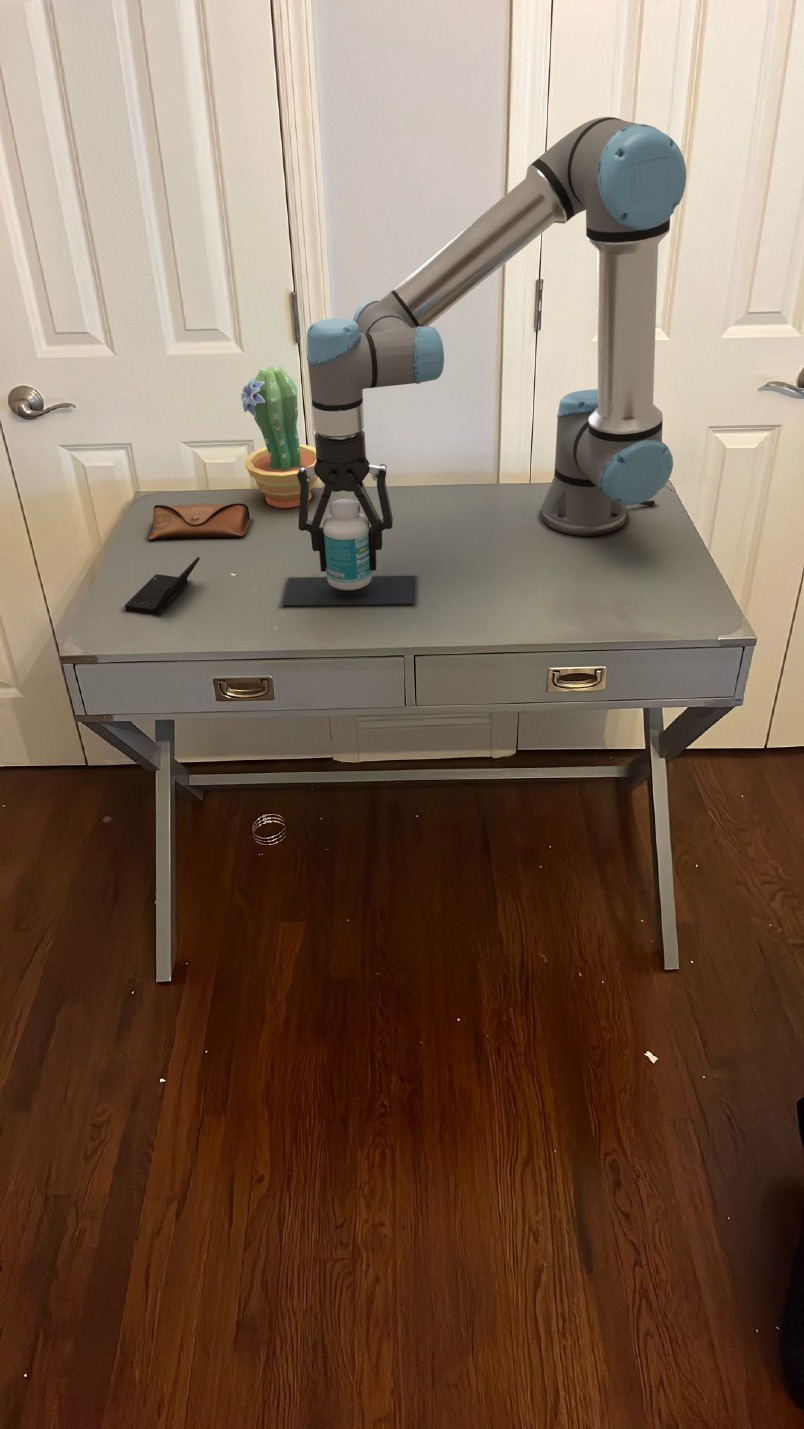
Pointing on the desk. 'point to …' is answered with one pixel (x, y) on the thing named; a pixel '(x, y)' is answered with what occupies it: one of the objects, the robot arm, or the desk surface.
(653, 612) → the desk surface
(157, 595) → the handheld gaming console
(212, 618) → the desk surface
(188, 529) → the sunglasses case
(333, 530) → the pill bottle
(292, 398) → the potted cactus
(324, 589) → the desk mat
